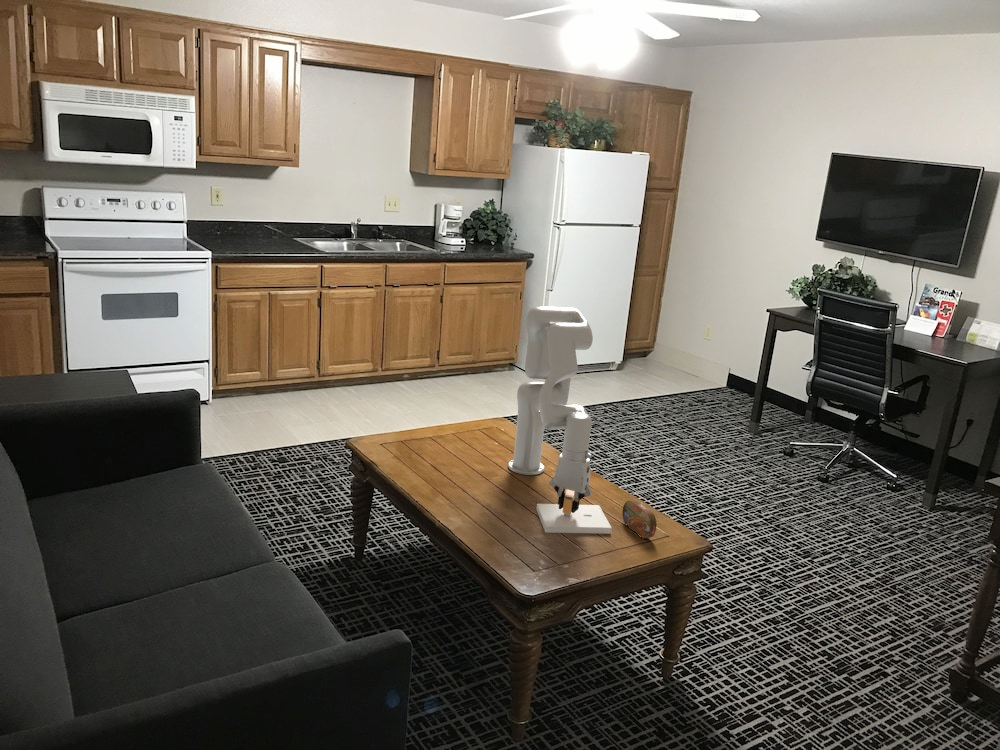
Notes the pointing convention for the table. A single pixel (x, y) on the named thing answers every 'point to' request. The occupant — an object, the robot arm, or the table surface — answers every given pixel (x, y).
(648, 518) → the tin
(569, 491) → the orange block on post
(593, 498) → the table surface
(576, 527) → the base plate
